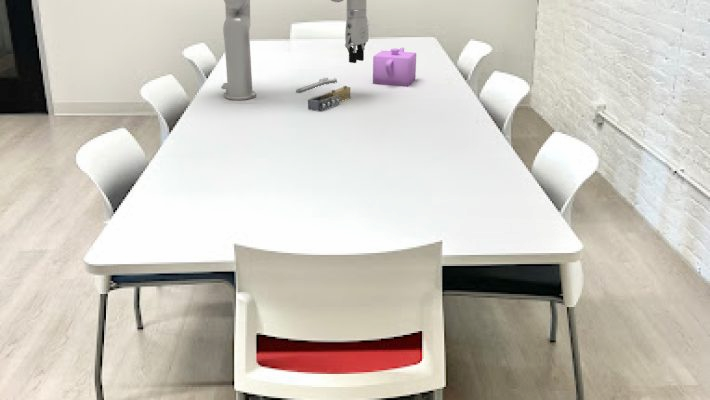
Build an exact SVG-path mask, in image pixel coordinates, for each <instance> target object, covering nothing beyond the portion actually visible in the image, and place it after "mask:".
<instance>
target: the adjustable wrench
mask: <svg viewBox="0 0 710 400" xmlns="http://www.w3.org/2000/svg"><path fill="white" fill-rule="evenodd" d="M337 80H338V79H337V78H336V77H334V78H333V79H329V78H328V77H323V78H320V79H319V81H318V82H313V83H311V84H308V85H306V86H302V87H300V88H295V93H296V94H302V93H305V92H308V91H310V89H311V90H313V88H314V89H316V88H319V87H322V86H325V85H324V84H326V85H330V84H329V83H333V84H336V83H338V81H337ZM335 82H336V83H335ZM321 85H322V86H321ZM318 86H319V87H318ZM315 87H316V88H315ZM307 90H308V91H307Z"/></svg>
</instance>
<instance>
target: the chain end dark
mask: <svg viewBox="0 0 710 400" xmlns="http://www.w3.org/2000/svg"><path fill="white" fill-rule="evenodd" d="M319 96H320V95H317V96H315V97H312V98H309V99H307V109H308V110H311V109H312V111H316V110H318V111H317V112H322V110H323V111H325V109H326V110H328V109H330V108H331V107H330V104H331V103H330V98H327V99H324V100H322V101H320V97H319ZM329 107H330V108H329ZM327 108H328V109H327Z"/></svg>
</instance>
